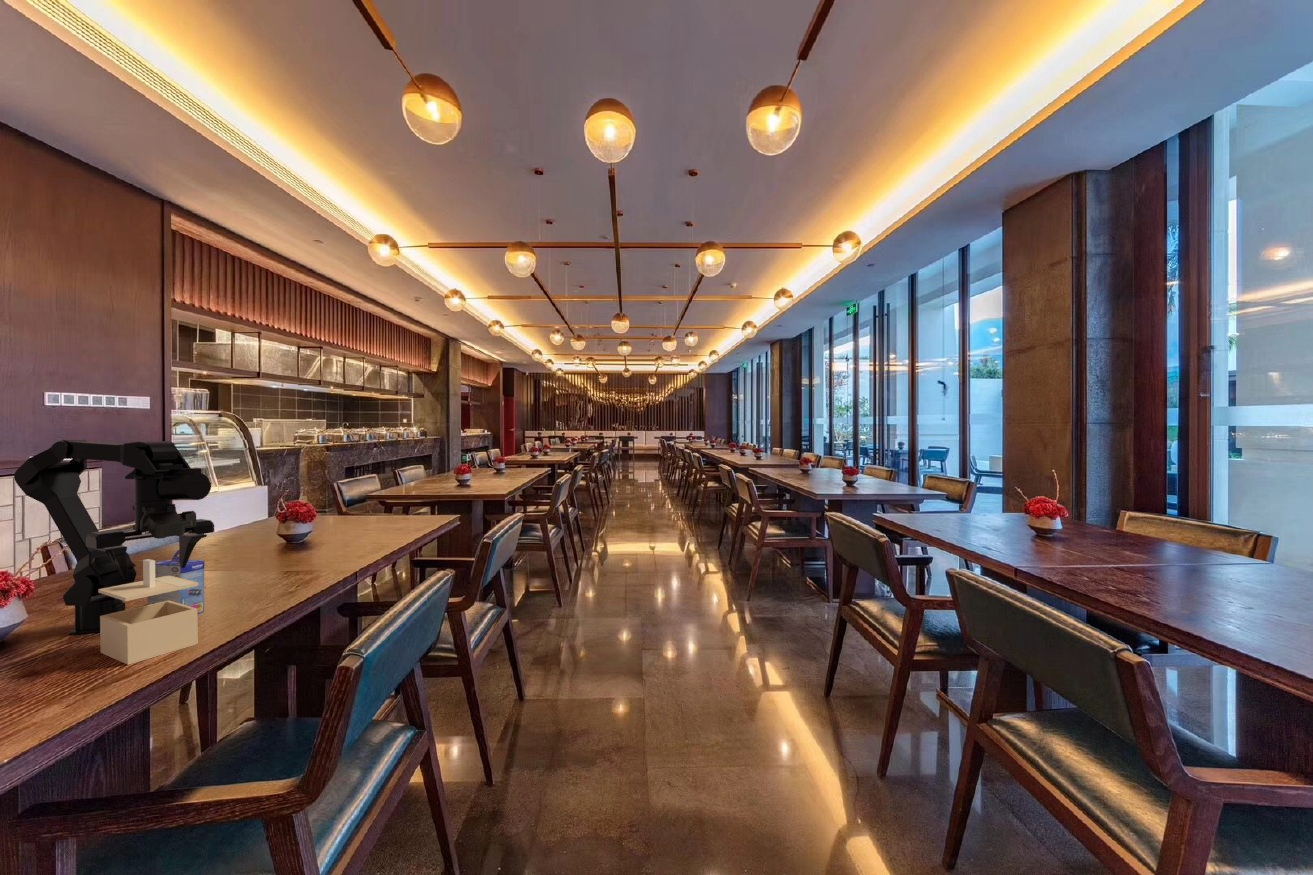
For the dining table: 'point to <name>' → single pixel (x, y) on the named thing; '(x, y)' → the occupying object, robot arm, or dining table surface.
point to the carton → (148, 631)
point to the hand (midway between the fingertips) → (155, 573)
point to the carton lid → (147, 585)
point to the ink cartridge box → (190, 572)
